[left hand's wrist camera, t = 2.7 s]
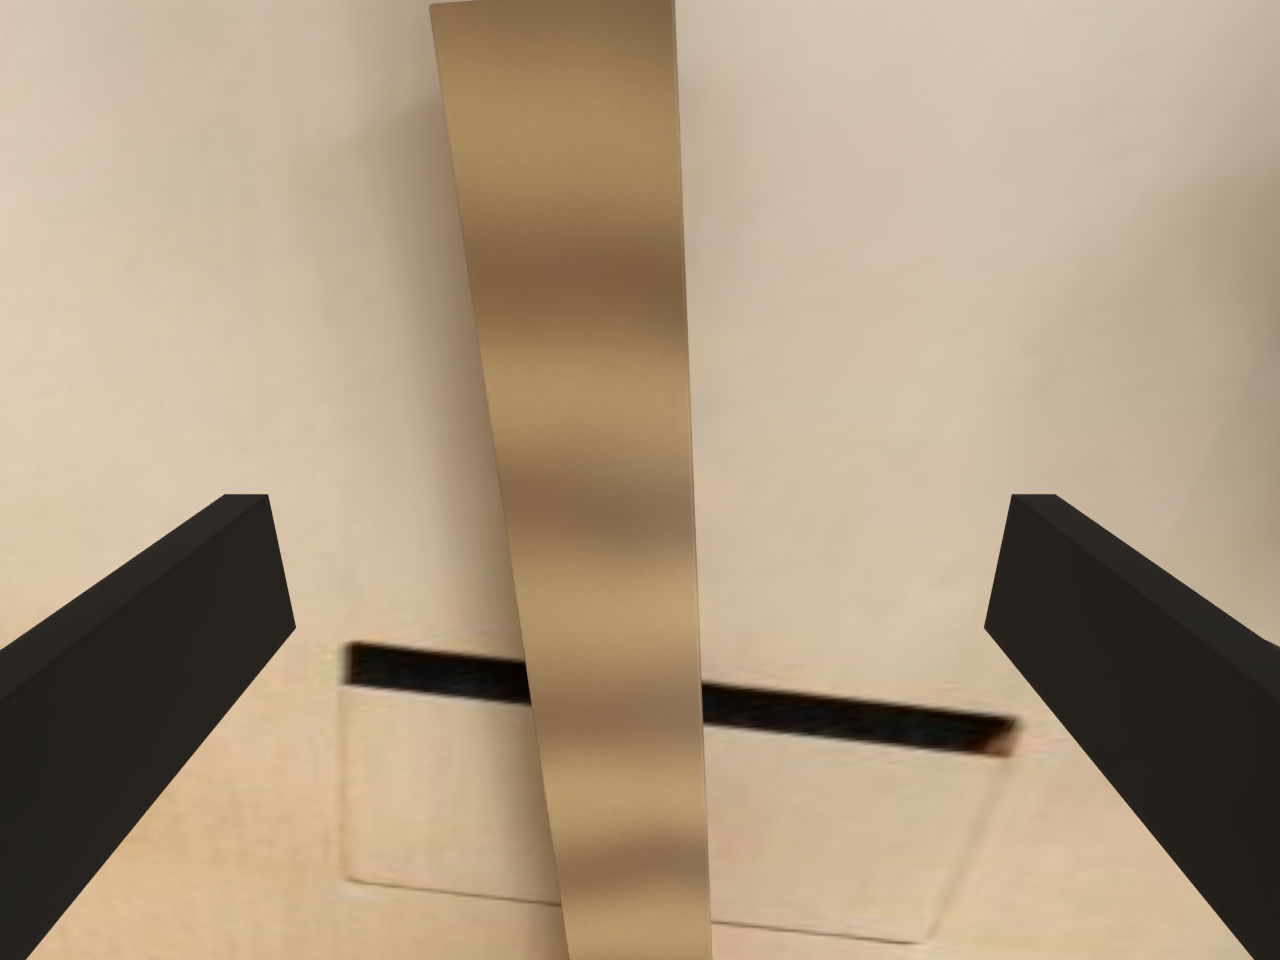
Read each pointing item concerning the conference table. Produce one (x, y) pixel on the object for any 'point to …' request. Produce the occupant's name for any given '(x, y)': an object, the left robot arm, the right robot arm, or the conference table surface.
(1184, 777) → the left robot arm
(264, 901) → the conference table surface
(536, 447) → the beam
